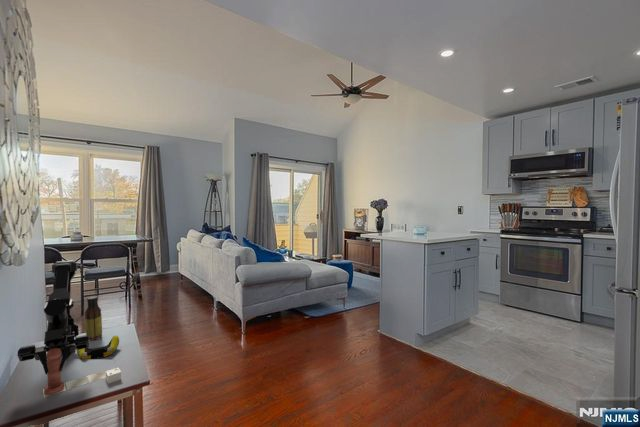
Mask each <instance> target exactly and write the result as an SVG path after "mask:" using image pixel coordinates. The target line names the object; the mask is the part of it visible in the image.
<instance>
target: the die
mask: <svg viewBox="0 0 640 427" xmlns="http://www.w3.org/2000/svg"><path fill="white" fill-rule="evenodd" d="M105 372H106V378H105V381H106V383H107V385H109V384H112V383H115V382H118V381H121V380H122V371H121V369H120V367H115V368H112V369H109V370H105Z"/></svg>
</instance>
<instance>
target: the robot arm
mask: <svg viewBox="0 0 640 427" xmlns="http://www.w3.org/2000/svg"><path fill="white" fill-rule="evenodd" d="M77 271H78V262H75V260H61V261H60V260H59V261H56V262H55V263H54V264H53V263H52V264H51V274H53V276H54V277H55V279H54V286H53V287H54V289H53V291H52V293H50V294H49V296H48V301H45V305H44V307H43V312H44V314H45V318H46V321H47V328H46V331H44V340H43V344H44V346H43V345H42V346H37V347H36V346H35V344H32V345H26V346H21V347H20V348H19V349H18V350H17V355H16V356H17V358H18V360H19V362H25V361H31V360H35V361H40V363H41V365H42V367H43V370H44V374H45V375H48V367H47V358H46V354H47V352H48V351H49V350H50V349H52V348H59V349H61V351H62V354H61V365H60V371H61V372H62V371H63V370H64V367H65V365H66V363H67V362H68V360H69V358H70V356H72V354H74V353H76V350H77V349H78V350H79V349H84V348H88V347H89V348H90V340H89V336H88V335H86V334H85V335H79V333H80V332H79V326H78V325H77V322H76V321H75V320H76V319H75V317H73V316H72V314H71V309H72V308H74V305H75V300H74V299H73V298H71V294H72V293H71V292H72V280H73V279H74V277H75V275H76V273H77Z"/></svg>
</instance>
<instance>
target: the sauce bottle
mask: <svg viewBox="0 0 640 427" xmlns="http://www.w3.org/2000/svg"><path fill="white" fill-rule="evenodd" d="M86 300H87V308H86V309H85V311H84V314H85V315H84V320H85V322H84V324H85V335H88V336H89V341H94V340H95V341H96V340H99V339H100V338H102V336H103V321H102V308H100V307H99V303H98V300H99V297H98V296H96V295H94V296H92V295H91V296H90V297H87V298H86Z"/></svg>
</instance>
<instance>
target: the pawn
mask: <svg viewBox="0 0 640 427" xmlns="http://www.w3.org/2000/svg"><path fill="white" fill-rule="evenodd" d="M61 354H62V351H61V349H59V348H52V349H50V350H49V351H48V352H46V358H47V367H48V373H47V385H46V386H45V387H44V388H43V389H44V394H46V395H50V396H52V395H51V394H53V395H56V394H59V393H58V392H60V391H61V390H63V389H64V384H65V382H64V381H62V371H60V365H61V360H62V355H61ZM55 393H56V394H55ZM60 393H61V392H60Z"/></svg>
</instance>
